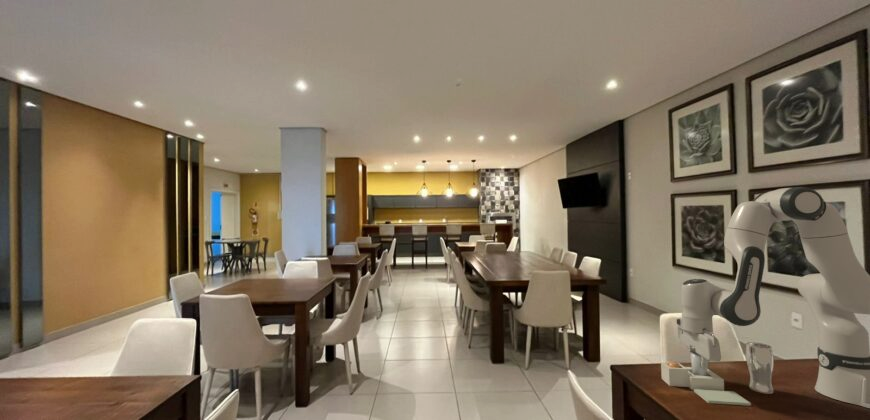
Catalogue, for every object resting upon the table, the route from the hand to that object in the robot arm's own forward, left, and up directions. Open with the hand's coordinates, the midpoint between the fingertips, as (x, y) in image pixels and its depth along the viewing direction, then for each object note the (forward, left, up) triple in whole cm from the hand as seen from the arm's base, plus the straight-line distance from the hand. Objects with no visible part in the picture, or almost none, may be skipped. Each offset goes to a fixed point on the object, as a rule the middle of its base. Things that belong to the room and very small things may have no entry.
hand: (699, 364), depth 126 cm
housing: (+3, 0, -7) cm, 7 cm away
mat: (-1, +10, -7) cm, 12 cm away
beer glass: (-18, +2, -7) cm, 19 cm away
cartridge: (0, 0, -6) cm, 6 cm away
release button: (+8, 0, -4) cm, 9 cm away
